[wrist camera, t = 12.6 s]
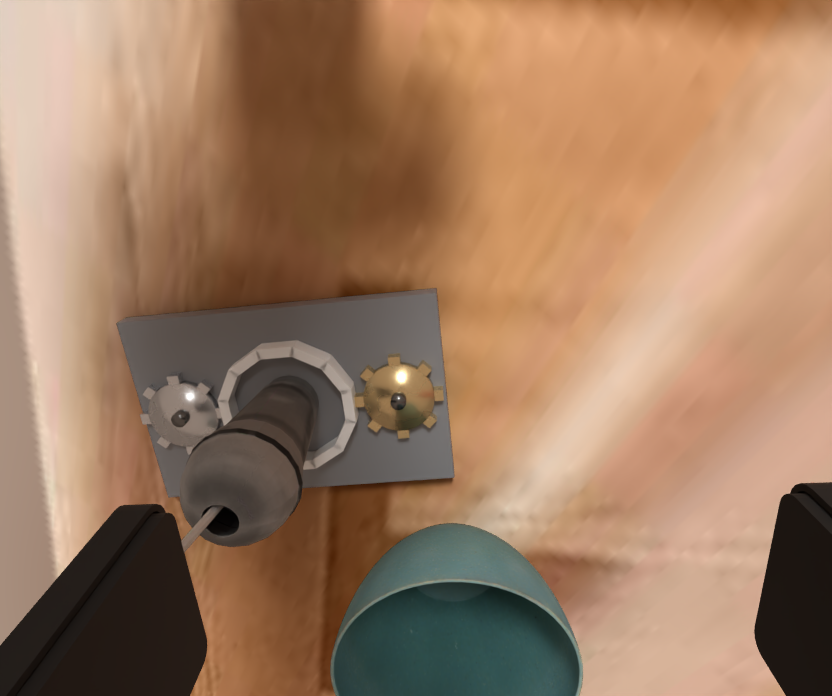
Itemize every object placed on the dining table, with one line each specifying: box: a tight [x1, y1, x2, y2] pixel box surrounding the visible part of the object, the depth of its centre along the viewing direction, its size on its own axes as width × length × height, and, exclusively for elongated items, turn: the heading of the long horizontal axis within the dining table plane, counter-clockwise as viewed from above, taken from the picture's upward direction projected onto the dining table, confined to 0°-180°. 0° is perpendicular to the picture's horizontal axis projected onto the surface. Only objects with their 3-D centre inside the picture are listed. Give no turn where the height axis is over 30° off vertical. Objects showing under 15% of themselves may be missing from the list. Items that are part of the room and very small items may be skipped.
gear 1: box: [140, 372, 222, 454], centre depth 45 cm, size 7×7×2 cm
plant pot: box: [330, 523, 583, 696], centre depth 46 cm, size 18×18×12 cm
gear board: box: [116, 288, 454, 497], centre depth 45 cm, size 16×25×3 cm, turn 96°
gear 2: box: [354, 353, 444, 439], centre depth 44 cm, size 7×7×2 cm
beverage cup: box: [180, 375, 319, 552], centre depth 36 cm, size 7×7×20 cm
